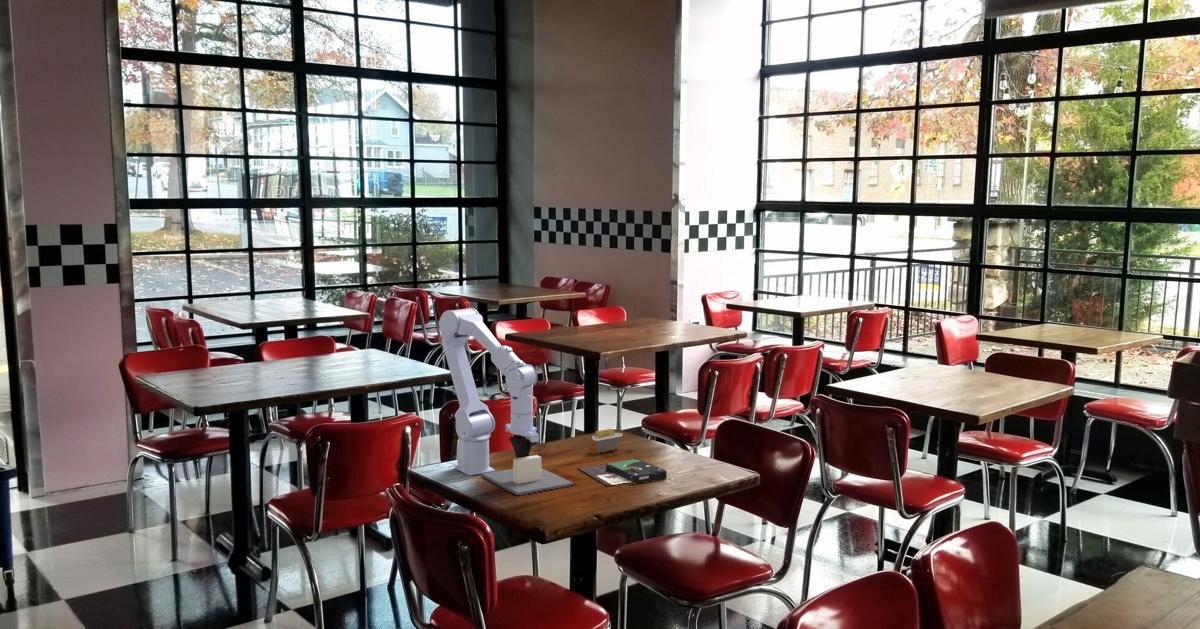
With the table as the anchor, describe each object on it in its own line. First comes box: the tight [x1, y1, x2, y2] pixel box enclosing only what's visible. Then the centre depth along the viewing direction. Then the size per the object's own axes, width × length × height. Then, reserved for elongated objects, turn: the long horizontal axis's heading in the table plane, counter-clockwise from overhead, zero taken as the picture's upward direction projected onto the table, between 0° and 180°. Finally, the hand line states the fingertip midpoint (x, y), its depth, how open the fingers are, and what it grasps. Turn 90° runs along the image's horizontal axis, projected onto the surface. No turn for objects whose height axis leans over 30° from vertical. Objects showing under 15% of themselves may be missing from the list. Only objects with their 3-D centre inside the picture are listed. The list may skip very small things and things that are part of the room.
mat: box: [482, 468, 574, 497], centre depth 253 cm, size 20×16×1 cm
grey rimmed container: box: [591, 428, 623, 454], centre depth 284 cm, size 12×18×7 cm, turn 128°
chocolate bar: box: [577, 463, 631, 487], centre depth 258 cm, size 9×1×18 cm
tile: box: [512, 454, 542, 484], centre depth 250 cm, size 2×7×6 cm, turn 123°
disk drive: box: [605, 457, 668, 484], centre depth 259 cm, size 10×3×15 cm
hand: (522, 463), depth 252 cm, fingers closed
